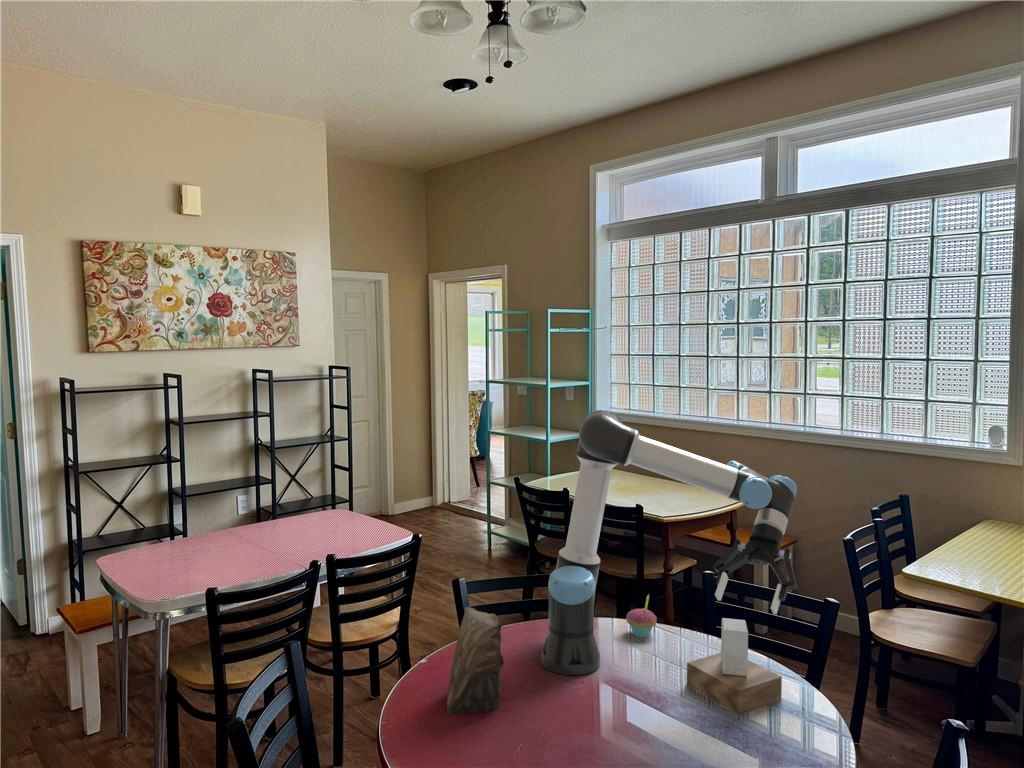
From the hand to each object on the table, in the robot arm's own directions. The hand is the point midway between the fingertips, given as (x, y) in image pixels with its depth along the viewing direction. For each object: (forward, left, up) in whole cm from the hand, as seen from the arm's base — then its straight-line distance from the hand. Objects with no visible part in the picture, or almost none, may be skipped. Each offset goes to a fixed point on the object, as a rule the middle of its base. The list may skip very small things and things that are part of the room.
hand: (744, 604), depth 165 cm
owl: (-45, -49, -20) cm, 69 cm away
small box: (-1, -4, -14) cm, 15 cm away
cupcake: (-34, +11, -20) cm, 41 cm away
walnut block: (-1, -5, -20) cm, 21 cm away
